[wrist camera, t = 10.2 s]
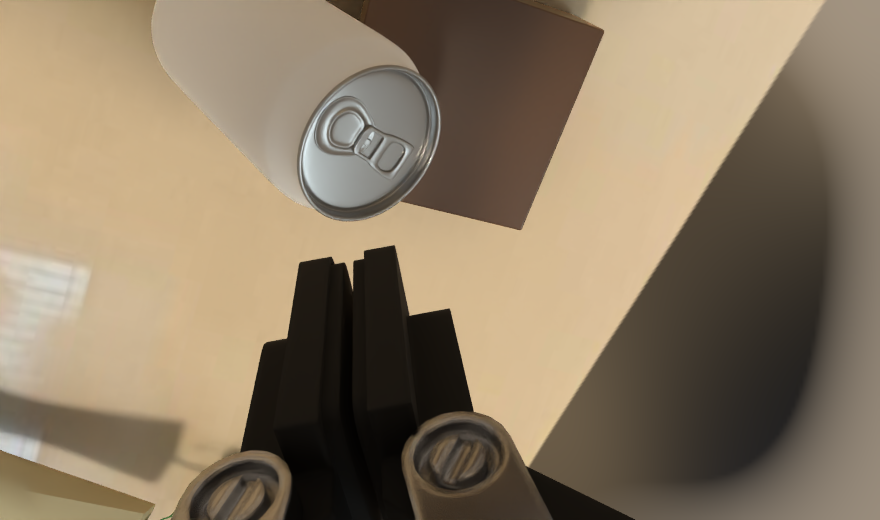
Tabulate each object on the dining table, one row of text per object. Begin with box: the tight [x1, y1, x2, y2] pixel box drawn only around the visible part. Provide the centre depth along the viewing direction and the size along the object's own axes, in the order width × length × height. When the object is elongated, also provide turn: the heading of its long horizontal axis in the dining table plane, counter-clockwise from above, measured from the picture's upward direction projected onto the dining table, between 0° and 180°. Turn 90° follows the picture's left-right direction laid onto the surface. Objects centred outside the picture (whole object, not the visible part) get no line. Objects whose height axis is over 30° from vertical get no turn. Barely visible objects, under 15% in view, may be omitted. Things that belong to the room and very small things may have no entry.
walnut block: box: [359, 0, 604, 230], centre depth 29 cm, size 10×10×4 cm
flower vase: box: [0, 450, 173, 520], centre depth 38 cm, size 12×12×35 cm
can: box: [151, 0, 441, 221], centre depth 24 cm, size 6×6×12 cm
